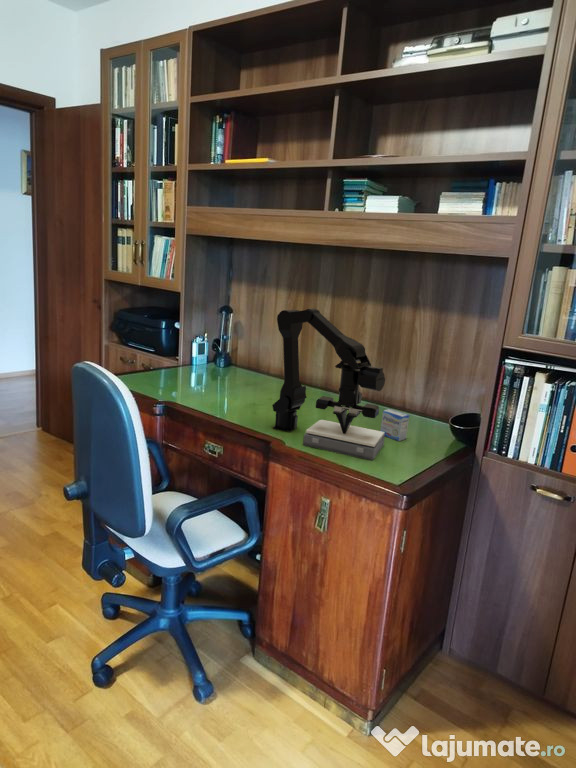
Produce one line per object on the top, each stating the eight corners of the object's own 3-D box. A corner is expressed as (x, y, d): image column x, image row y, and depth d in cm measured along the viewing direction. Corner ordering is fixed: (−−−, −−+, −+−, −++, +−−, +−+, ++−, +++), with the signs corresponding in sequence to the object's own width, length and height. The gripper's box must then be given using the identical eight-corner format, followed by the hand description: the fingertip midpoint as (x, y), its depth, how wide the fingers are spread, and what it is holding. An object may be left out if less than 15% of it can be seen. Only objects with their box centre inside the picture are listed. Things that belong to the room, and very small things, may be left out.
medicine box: (379, 434, 179) (382, 410, 176) (386, 432, 182) (390, 408, 180) (398, 441, 173) (402, 416, 171) (406, 439, 176) (409, 414, 174)
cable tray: (302, 446, 162) (303, 435, 161) (318, 431, 176) (319, 421, 176) (372, 461, 155) (373, 450, 154) (383, 445, 169) (384, 434, 168)
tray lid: (305, 432, 163) (306, 430, 163) (320, 421, 175) (320, 419, 175) (374, 447, 155) (374, 444, 155) (384, 434, 168) (384, 432, 168)
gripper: (385, 384, 163) (380, 432, 167) (328, 375, 170) (324, 421, 174) (377, 391, 153) (371, 442, 157) (317, 381, 160) (312, 430, 163)
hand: (344, 433), depth 163 cm, fingers closed, pressing on tray lid
